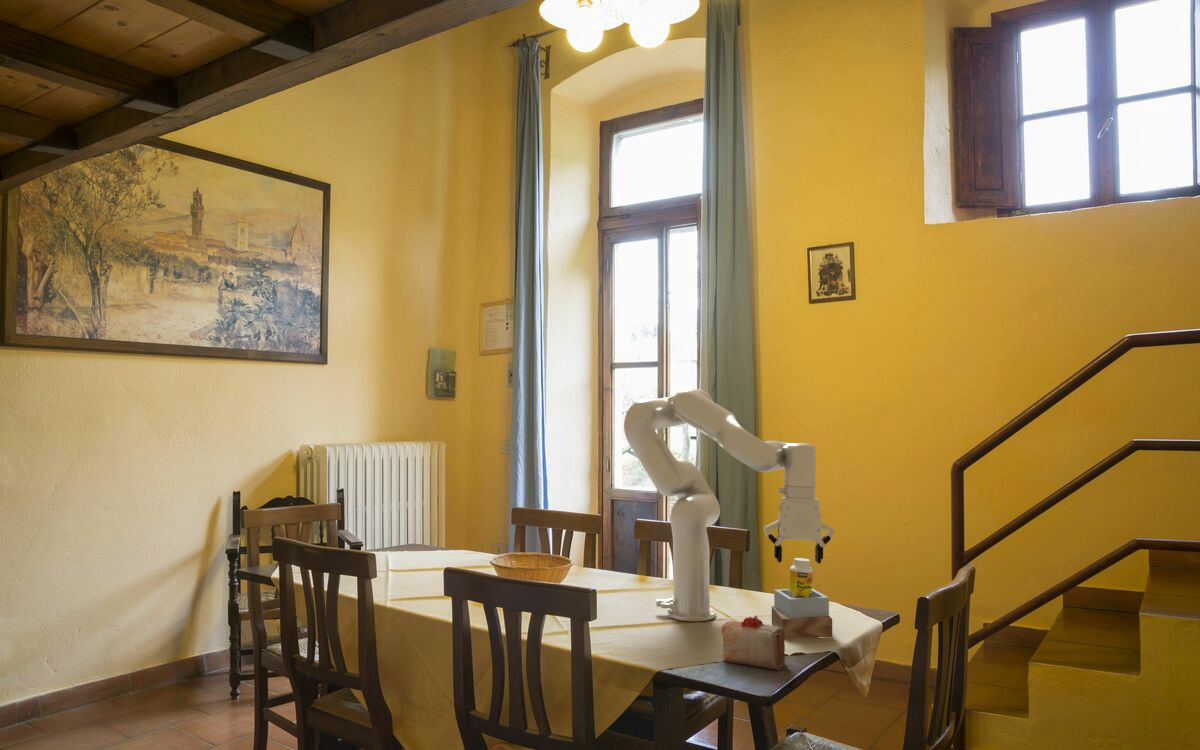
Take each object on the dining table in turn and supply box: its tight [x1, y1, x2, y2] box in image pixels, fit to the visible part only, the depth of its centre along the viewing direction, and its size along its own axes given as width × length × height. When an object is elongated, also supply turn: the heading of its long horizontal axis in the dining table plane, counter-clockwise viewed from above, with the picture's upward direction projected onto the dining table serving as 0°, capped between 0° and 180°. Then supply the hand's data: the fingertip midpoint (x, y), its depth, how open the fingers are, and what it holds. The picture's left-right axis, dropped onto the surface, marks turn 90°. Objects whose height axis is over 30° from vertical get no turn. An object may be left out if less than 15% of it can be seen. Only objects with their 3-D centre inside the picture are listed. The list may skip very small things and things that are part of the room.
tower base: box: [771, 605, 833, 639], centre depth 201 cm, size 12×12×5 cm
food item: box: [720, 614, 786, 671], centre depth 178 cm, size 14×8×10 cm, turn 60°
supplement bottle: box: [788, 557, 814, 598], centre depth 202 cm, size 6×6×10 cm
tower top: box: [773, 588, 830, 618], centre depth 202 cm, size 10×10×4 cm
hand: (798, 561), depth 202 cm, fingers open, 9 cm apart
